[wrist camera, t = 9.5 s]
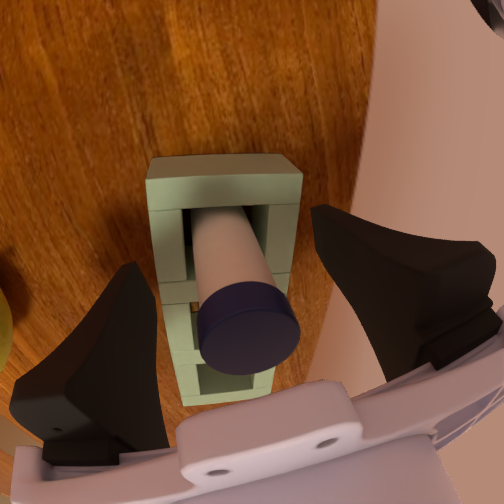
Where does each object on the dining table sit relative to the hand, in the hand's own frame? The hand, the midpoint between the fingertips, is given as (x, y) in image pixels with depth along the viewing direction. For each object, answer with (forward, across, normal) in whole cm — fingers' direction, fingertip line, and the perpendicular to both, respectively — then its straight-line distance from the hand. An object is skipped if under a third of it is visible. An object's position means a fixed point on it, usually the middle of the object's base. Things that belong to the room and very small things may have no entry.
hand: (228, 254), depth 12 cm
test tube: (+4, 0, 0) cm, 4 cm away
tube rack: (+4, +1, +4) cm, 6 cm away
